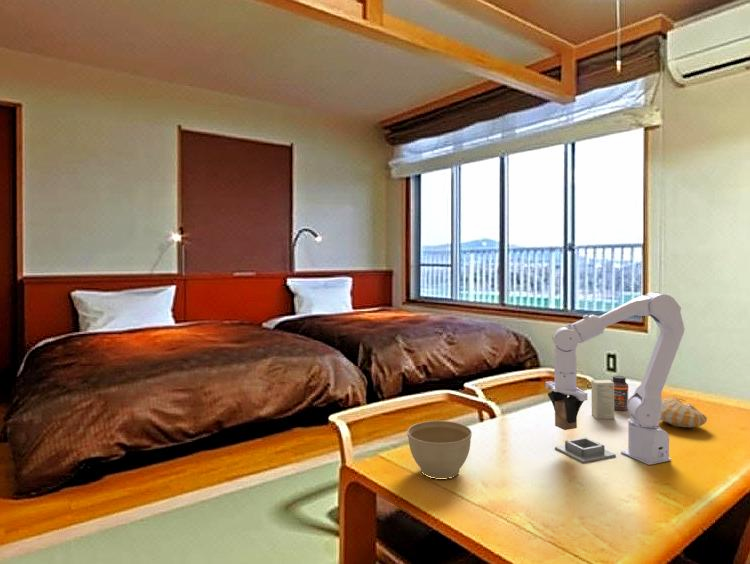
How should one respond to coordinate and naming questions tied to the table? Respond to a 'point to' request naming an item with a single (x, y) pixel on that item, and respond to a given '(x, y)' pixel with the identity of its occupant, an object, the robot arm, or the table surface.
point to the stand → (585, 450)
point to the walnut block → (562, 416)
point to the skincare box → (602, 399)
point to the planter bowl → (439, 447)
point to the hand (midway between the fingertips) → (565, 420)
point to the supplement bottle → (620, 393)
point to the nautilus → (681, 414)
